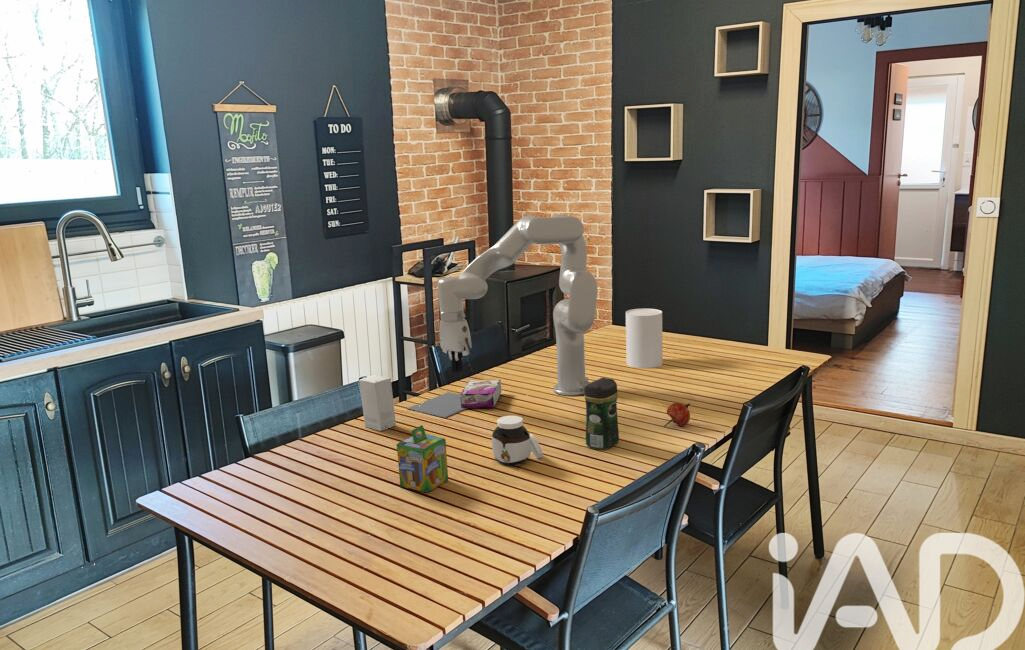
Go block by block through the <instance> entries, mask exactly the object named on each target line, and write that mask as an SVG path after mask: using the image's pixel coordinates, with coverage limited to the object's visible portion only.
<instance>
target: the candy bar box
mask: <svg viewBox="0 0 1025 650" xmlns="http://www.w3.org/2000/svg"><path fill="white" fill-rule="evenodd" d="M501 381H502V379H500V378H497V379H494V378H493V379H469V380H468V382H467V383H466V385H465V387H463V389H462V391H461V393H460V398H461V408H468V409H470V408H471V409H473V408H475V409H476V408H482V409H483V408H495V406H496V404H497V402H498V400H499V398H500V396H501V393H502V382H501Z"/></svg>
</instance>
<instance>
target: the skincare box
mask: <svg viewBox="0 0 1025 650" xmlns="http://www.w3.org/2000/svg"><path fill="white" fill-rule="evenodd" d="M358 382H359V391H360V398H361V404H362V405H361V406H362V413H363V421H364V427H365V428H368V429H371V428H372V429H371V430H375V431H377V432H383V431H386V430H388V428H389V429H391V428H394V427H396V426H397V420H396V412H395V403H394V402H395V401H394V396H393V388H392V377H388V376H383V375H378V374H373V375H369V376H366V377H363V378H361V379H359V380H358ZM393 426H394V427H393ZM385 429H386V430H385ZM382 430H383V431H382Z"/></svg>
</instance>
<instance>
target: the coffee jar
mask: <svg viewBox="0 0 1025 650" xmlns="http://www.w3.org/2000/svg"><path fill="white" fill-rule="evenodd" d="M583 397H584V400H585V411H586V412H585V415H586V416H585V418H586V419H585V422H586V423H585V444H586V446H587V447H589V448H591V449H593V450H607V449H610V448H612V447H613V446H615V445H617V443H619V440H620V435H619V434H620V433H619V432H620V431H619V424H618V423H619V421H618V420H619V419H618V409H617V405H618V404H617V402H618V383H617V382H616V381H615V379H613V378H608V377H600V378H599V379H596V380H593V381H591V383H589V384H587V385H585V387H584V394H583Z"/></svg>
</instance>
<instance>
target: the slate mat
mask: <svg viewBox="0 0 1025 650" xmlns="http://www.w3.org/2000/svg"><path fill="white" fill-rule="evenodd" d="M460 394H461V393H460ZM460 394H458V393H456V392H455V393H454V392H449V391H447V392H445V393H443V394H440V395H437V396H435V397H433V398H430V399H427V400H425V401H423V402H424V403H422V402H419V403H417V404H418V405H417V404H414V405H412V406H410V407H407V408H406V410H407V409H411V410H415V411H418V412H417V413H420V412H422V413H421V414H424V413H426V414H425V415H428V414H431V415H430V416H432V415H435V416H434V417H437V416H438V418H441V417H442V419H446V418H448V417H451V415H452V416H454V415H456V414H458V412H459V413H461V412H463V411H466V410H468V409H469V408H461V398H460ZM421 403H422V404H421ZM419 404H420V407H419ZM465 409H466V410H465ZM411 410H410V411H411ZM415 411H414V412H415ZM460 411H461V412H460Z"/></svg>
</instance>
